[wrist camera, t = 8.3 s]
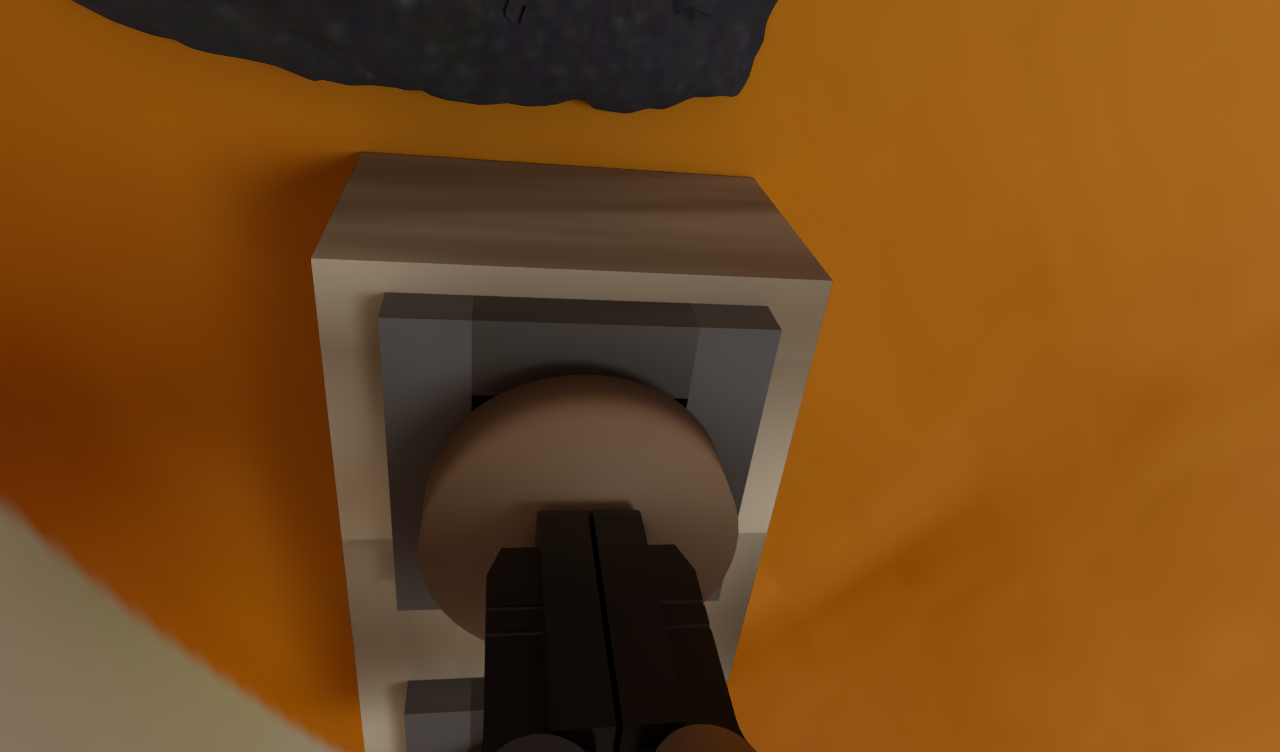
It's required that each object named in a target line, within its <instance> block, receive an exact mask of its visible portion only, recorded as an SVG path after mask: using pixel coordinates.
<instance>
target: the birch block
mask: <svg viewBox="0 0 1280 752" xmlns="http://www.w3.org/2000/svg"><path fill="white" fill-rule="evenodd" d="M311 265H312V274H313V283H314V292H315V301H316V310H317V319H318V328H319V337H320V346H321V355H322V364H323V373H324V383H325V392H326V401H327V410H328V419H329V428H330V437H331V446H332V455H333V464H334V473H335V482H336V491H337V501H338V510H339V519H340V528H341V537H342V546H343V555H344V564H345V573H346V582H347V591H348V600H349V609H350V619H351V628H352V637H353V646H354V655H355V664H356V673H357V682H358V691H359V700H360V709H361V718H362V727H363V736H364V746H365V752H468V751H469V750H471V749H472V748H474V747H476V746H478V745H479V744H481V743H482V741H483V718H484V666H485V641H483V640H481V639H479V638H478V637H476V636H474V635H472V634H470V633H468V632H467V631H465V630H464V629H463V628H461V627H460V626H458V625H457V624H456V623H454V622H453V621H452V620H451V619H450V618H449V617H448V616H447V615H446V614H445V613H444V612H443V611H442V610H441V609H440V607H439V606H438V605H437V604H436V602H435V601H434V600H433V598H432V596H431V595H430V593H429V591H428V589H427V587H426V585H425V582H424V579H423V576H422V573H421V570H420V563H419V556H418V553H419V536H420V528H421V520H422V512H423V503H424V495H425V487H426V482H427V477H428V473H429V469H430V466H431V464H432V462H433V459H434V457H435V454H436V453H437V451H438V449H439V448H440V446H441V444H442V443H443V441H444V440H445V438H446V437H447V436H448V435H449V433H450V432H451V431H452V430H453V429H454V428H455V426H456V425H457V424H458V423H459V422H461V421H462V420H463V419H464V418H465V417H466V416H467V415H468V414H469V413H471V412H472V411H473V410H475V409H476V408H478V407H479V406H481V405H482V404H483V403H485V402H486V401H488V400H490V399H492V396H497V395H499V394H501V393H503V392H505V391H508V390H510V389H513V388H515V387H518V386H521V385H523V384H526V383H530V382H534V381H538V380H541V379H545V378H551V377H558V376H565V375H587V374H589V375H602V376H612V377H617V378H622V379H627V380H631V381H634V382H638V383H641V384H644V385H647V386H649V387H652V388H654V389H656V390H658V391H660V392H662V393H665V394H666V395H668V396H669V397H671V398H673V399H674V400H676V401H677V402H679V403H680V404H682V405H683V406H684V407H685V408H686V409H687V410H688V411H690V412H691V413H692V414H693V415H694V416H695V417H696V418H697V420H698V421H699V422H700V423H701V424H702V425H703V427H704V428H705V430H706V431H707V433H708V435H709V436H710V438H711V440H712V442H713V444H714V447H715V449H716V452H717V454H718V457H719V460H720V463H721V466H722V468H723V471H724V474H725V477H726V480H727V482H728V485H729V488H730V491H731V494H732V496H733V499H734V502H735V505H736V510H737V515H738V533H739V534H738V540H737V547H736V551H735V554H734V557H733V560H732V563H731V565H730V567H729V569H728V571H727V573H726V575H725V577H724V579H723V580H722V582H721V583H720V585H719V586H718V587H717V589H716V590H715V591H714V593H713V594H712V595H711V596H710V597H709V598H708V599H707V601H706V602H705V603H704V604H703V605H705V608H706V611H707V615H708V618H709V622H710V629H712V633H713V637H714V640H715V644H716V648H717V651H718V655H719V659H720V662H721V666H722V670H723V673H724V677H725V681H726V684H727V683H728V679H729V675H730V671H731V668H732V664H733V660H734V656H735V652H736V648H737V645H738V641H739V637H740V633H741V629H742V626H743V622H744V618H745V614H746V610H747V606H748V603H749V599H750V595H751V591H752V587H753V584H754V580H755V576H756V572H757V568H758V564H759V561H760V557H761V553H762V549H763V545H764V542H765V538H766V534H767V530H768V526H769V523H770V519H771V515H772V511H773V507H774V503H775V500H776V496H777V492H778V488H779V484H780V481H781V477H782V473H783V469H784V465H785V461H786V458H787V454H788V450H789V446H790V442H791V439H792V435H793V431H794V427H795V423H796V419H797V416H798V412H799V408H800V404H801V400H802V397H803V393H804V389H805V385H806V381H807V378H808V374H809V370H810V366H811V362H812V358H813V355H814V351H815V347H816V343H817V339H818V336H819V332H820V328H821V324H822V320H823V316H824V313H825V309H826V305H827V301H828V297H829V294H830V290H831V286H832V282H833V280H832V279H831V278H830V276H829V275H828V274H827V272H826V271H825V270H824V269H823V267H822V266H821V265H820V263H819V262H818V261H817V260H816V258H815V257H814V256H813V254H812V253H811V252H810V250H809V249H808V248H807V247H806V245H805V244H804V243H803V241H802V240H801V239H800V238H799V236H798V235H797V234H796V232H795V231H794V230H793V228H792V227H791V226H790V225H789V223H788V222H787V221H786V219H785V218H784V217H783V216H782V214H781V213H780V212H779V210H778V209H777V208H776V207H775V205H774V204H773V203H772V201H771V200H770V199H769V197H768V196H767V195H766V194H765V192H764V191H763V190H762V188H761V187H760V186H759V185H758V183H757V182H756V181H755V179H754V178H748V177H733V176H718V175H703V174H688V173H672V172H657V171H642V170H627V169H612V168H596V167H581V166H566V165H551V164H536V163H520V162H505V161H490V160H475V159H460V158H444V157H429V156H414V155H399V154H384V153H368V152H361V154H360V156H359V158H358V160H357V162H356V164H355V166H354V168H353V170H352V173H351V175H350V177H349V179H348V181H347V183H346V185H345V187H344V189H343V192H342V194H341V196H340V198H339V200H338V202H337V204H336V206H335V208H334V211H333V213H332V215H331V217H330V219H329V221H328V223H327V225H326V227H325V229H324V232H323V234H322V236H321V238H320V240H319V242H318V244H317V246H316V248H315V251H314V253H313V255H312V257H311Z"/></svg>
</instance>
